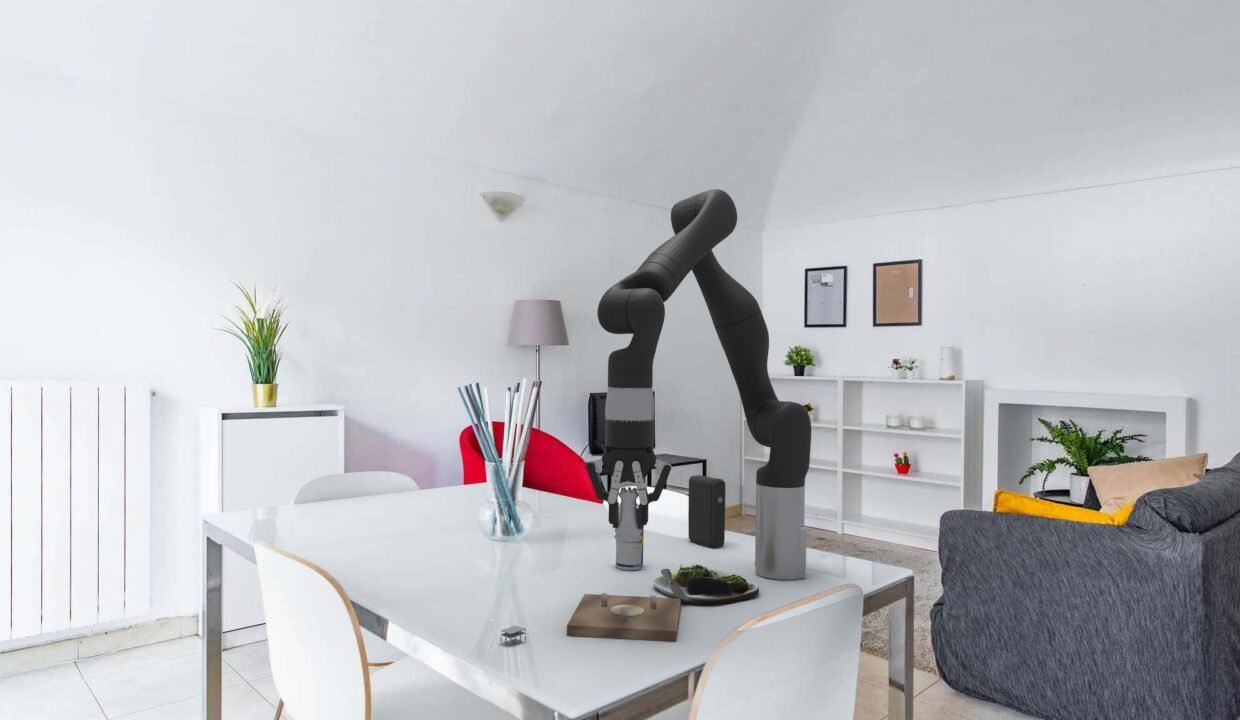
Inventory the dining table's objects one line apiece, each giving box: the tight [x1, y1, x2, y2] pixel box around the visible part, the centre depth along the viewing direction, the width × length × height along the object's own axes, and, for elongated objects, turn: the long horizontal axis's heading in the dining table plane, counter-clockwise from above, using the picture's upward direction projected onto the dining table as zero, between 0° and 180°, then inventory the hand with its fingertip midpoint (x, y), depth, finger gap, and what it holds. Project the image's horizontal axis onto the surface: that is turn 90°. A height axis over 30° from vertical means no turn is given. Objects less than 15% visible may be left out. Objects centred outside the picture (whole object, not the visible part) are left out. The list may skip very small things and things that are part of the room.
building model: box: [499, 625, 527, 646], centre depth 111 cm, size 2×3×2 cm
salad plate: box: [653, 563, 760, 607], centre depth 139 cm, size 19×18×5 cm
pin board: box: [566, 592, 682, 642], centre depth 121 cm, size 16×16×3 cm
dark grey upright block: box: [687, 474, 726, 549], centre depth 174 cm, size 9×4×15 cm, turn 35°
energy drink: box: [615, 504, 645, 572], centre depth 153 cm, size 5×5×12 cm
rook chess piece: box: [613, 486, 642, 543], centre depth 121 cm, size 4×4×8 cm
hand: (628, 526), depth 121 cm, fingers closed on rook chess piece, 3 cm apart
